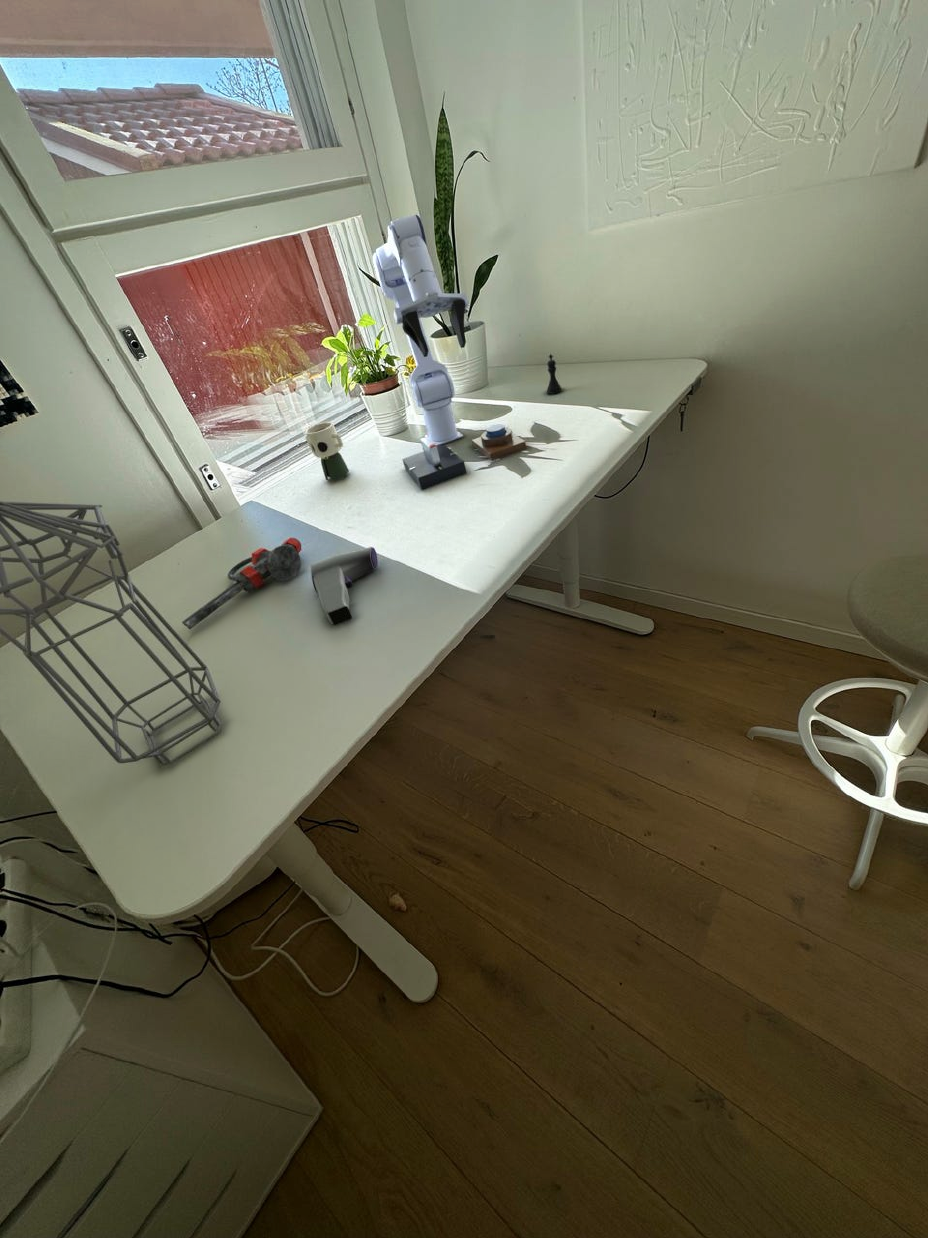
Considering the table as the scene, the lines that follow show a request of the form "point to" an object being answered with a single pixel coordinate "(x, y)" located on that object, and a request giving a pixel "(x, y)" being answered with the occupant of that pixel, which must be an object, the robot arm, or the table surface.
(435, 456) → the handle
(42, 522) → the geometric lantern
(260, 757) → the table surface
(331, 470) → the character mug
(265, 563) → the chainsaw
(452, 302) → the robot arm
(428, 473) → the tap deck
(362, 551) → the infrared thermometer
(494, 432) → the button
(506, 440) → the button block
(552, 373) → the chess piece
